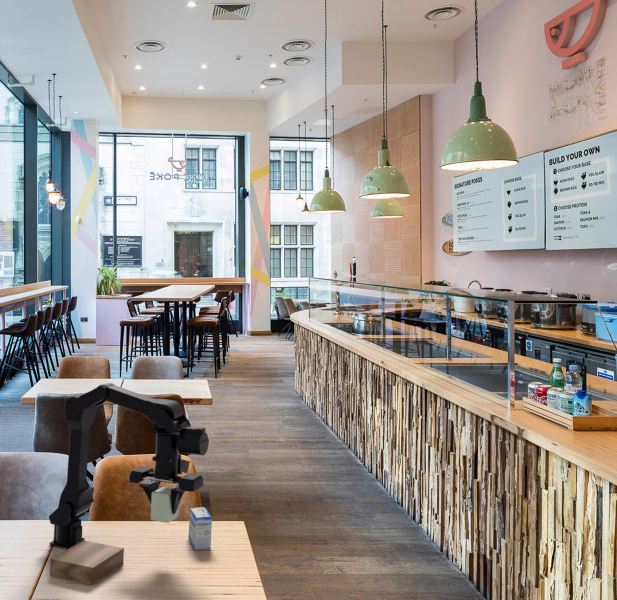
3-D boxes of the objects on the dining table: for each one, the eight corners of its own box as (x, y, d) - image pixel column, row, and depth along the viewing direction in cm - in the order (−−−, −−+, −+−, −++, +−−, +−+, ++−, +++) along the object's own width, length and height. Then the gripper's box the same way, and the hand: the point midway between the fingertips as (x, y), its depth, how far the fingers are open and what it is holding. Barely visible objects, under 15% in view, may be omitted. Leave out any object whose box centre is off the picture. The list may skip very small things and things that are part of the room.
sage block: (150, 519, 160) (151, 492, 160) (161, 513, 165) (162, 486, 165) (168, 522, 159) (169, 495, 159) (178, 516, 164) (179, 489, 163)
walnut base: (50, 575, 150) (50, 558, 150) (83, 555, 162) (83, 540, 161) (92, 584, 146) (93, 567, 146) (123, 564, 158) (123, 548, 158)
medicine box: (188, 539, 175) (189, 508, 175) (204, 537, 177) (205, 506, 177) (194, 550, 168) (195, 518, 168) (211, 548, 170) (212, 516, 169)
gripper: (214, 448, 166) (212, 507, 167) (152, 440, 172) (150, 497, 173) (193, 458, 156) (191, 521, 156) (128, 449, 162) (126, 510, 162)
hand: (164, 512), depth 162 cm, fingers closed on sage block, 5 cm apart
